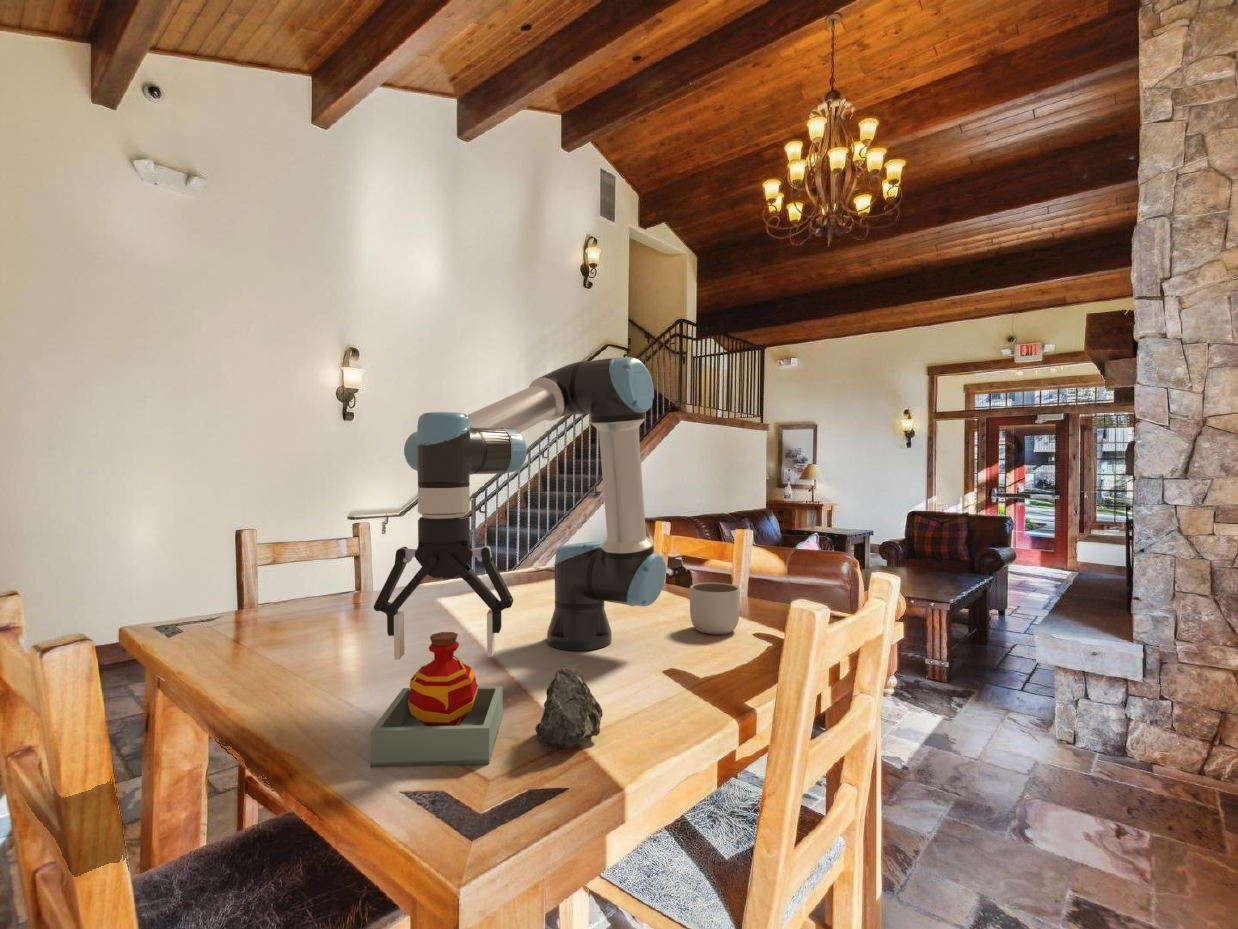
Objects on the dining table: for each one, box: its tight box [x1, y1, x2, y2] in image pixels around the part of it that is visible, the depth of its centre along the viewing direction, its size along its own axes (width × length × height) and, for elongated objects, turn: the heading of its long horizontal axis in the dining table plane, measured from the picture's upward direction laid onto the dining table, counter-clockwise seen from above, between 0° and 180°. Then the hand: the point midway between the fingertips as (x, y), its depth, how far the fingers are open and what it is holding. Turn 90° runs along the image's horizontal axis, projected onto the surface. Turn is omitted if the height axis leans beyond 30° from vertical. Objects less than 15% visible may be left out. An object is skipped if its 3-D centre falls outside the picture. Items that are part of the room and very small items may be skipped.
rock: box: [535, 666, 603, 750], centre depth 93 cm, size 12×10×10 cm
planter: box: [689, 582, 741, 636], centre depth 154 cm, size 12×12×11 cm
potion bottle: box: [408, 631, 480, 726], centre depth 93 cm, size 10×10×15 cm
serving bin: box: [369, 685, 504, 768], centre depth 92 cm, size 16×16×5 cm
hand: (445, 655), depth 93 cm, fingers open, 13 cm apart
